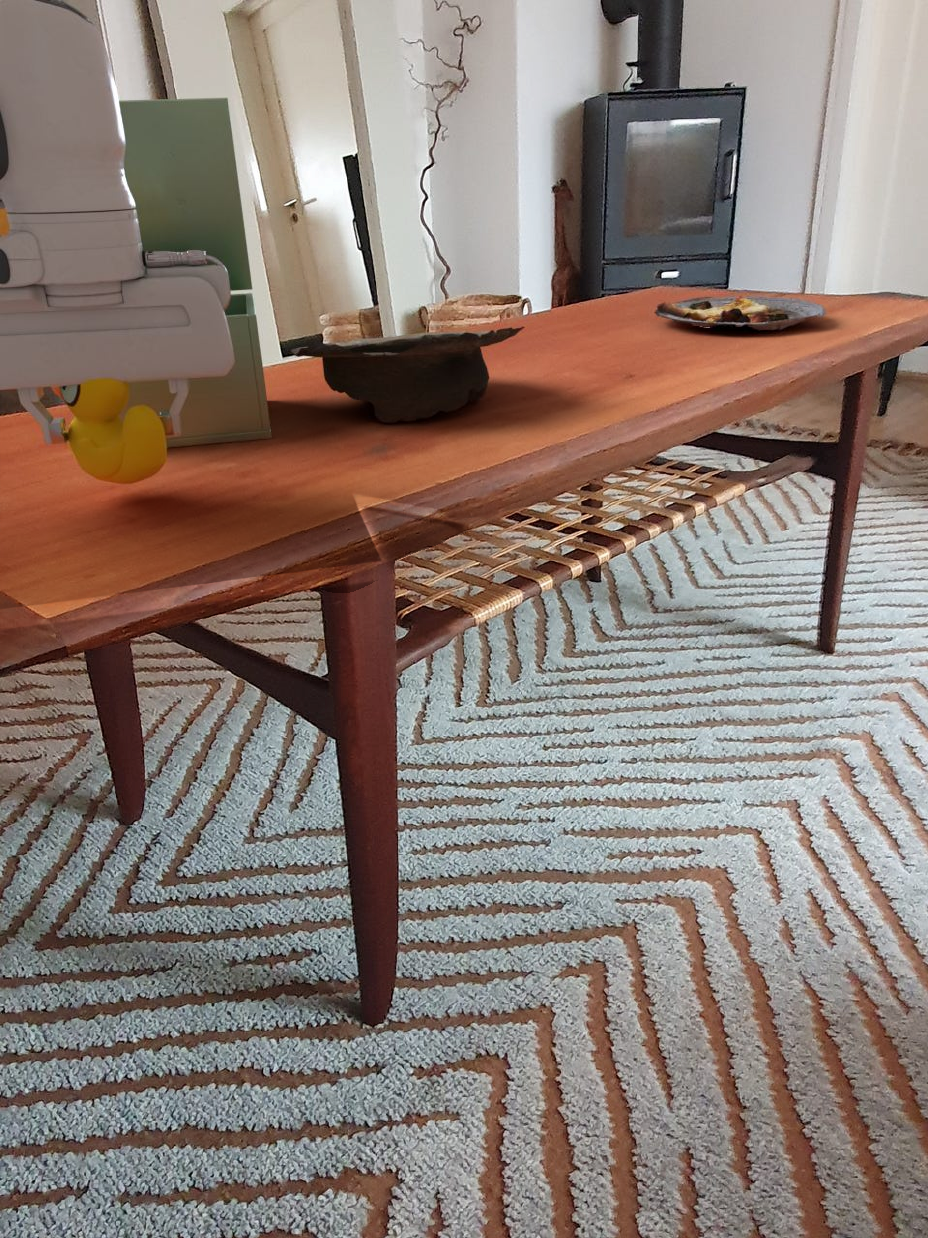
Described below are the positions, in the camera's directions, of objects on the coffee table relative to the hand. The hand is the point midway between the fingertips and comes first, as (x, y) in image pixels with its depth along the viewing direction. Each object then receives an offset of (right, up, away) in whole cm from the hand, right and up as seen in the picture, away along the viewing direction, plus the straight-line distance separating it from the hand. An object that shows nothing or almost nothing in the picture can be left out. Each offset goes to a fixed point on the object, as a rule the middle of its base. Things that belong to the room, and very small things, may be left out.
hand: (114, 438), depth 75 cm
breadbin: (-1, +6, +24) cm, 25 cm away
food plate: (+70, +31, +69) cm, 103 cm away
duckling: (0, -3, +2) cm, 4 cm away
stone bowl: (+22, +9, +29) cm, 38 cm away
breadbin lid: (-3, +28, +21) cm, 35 cm away
